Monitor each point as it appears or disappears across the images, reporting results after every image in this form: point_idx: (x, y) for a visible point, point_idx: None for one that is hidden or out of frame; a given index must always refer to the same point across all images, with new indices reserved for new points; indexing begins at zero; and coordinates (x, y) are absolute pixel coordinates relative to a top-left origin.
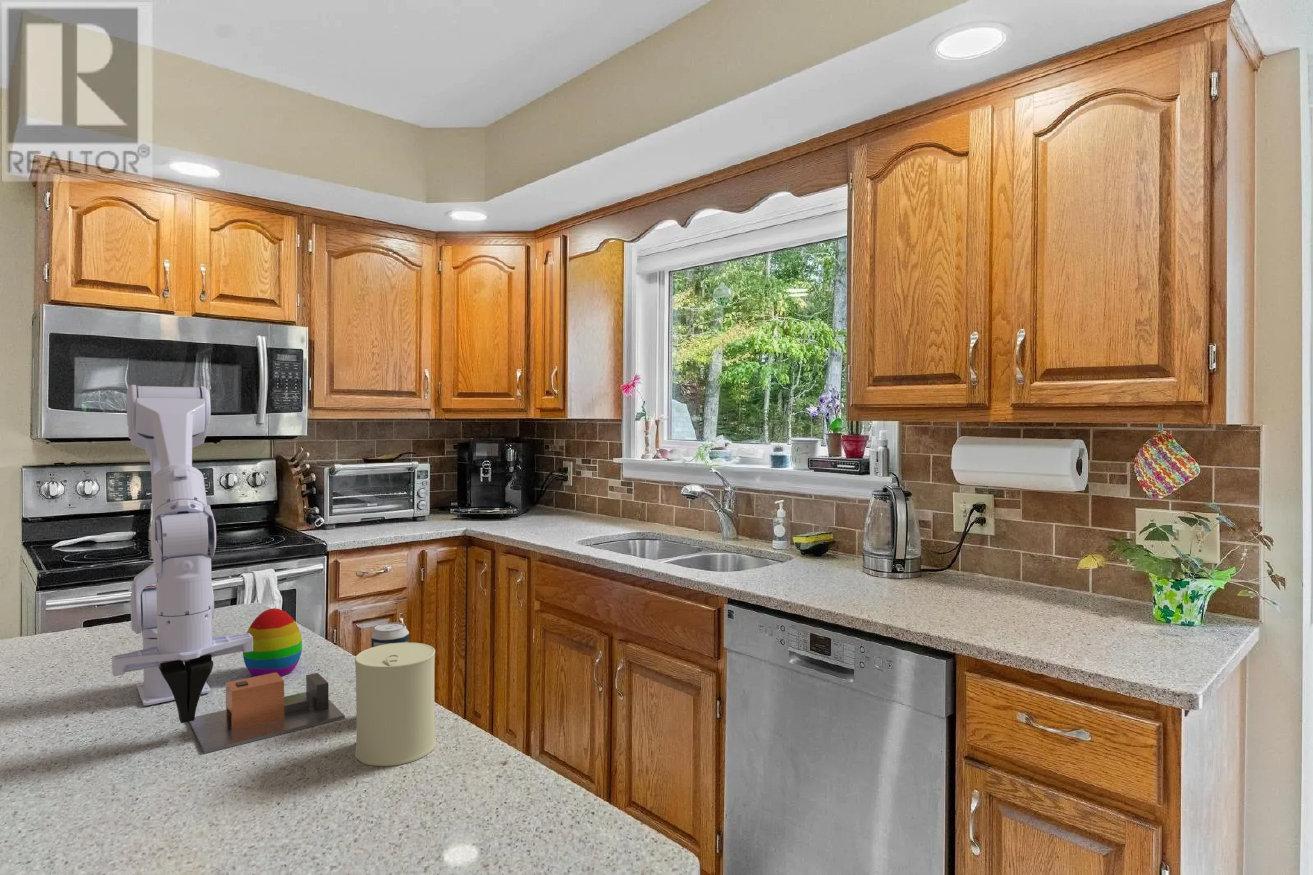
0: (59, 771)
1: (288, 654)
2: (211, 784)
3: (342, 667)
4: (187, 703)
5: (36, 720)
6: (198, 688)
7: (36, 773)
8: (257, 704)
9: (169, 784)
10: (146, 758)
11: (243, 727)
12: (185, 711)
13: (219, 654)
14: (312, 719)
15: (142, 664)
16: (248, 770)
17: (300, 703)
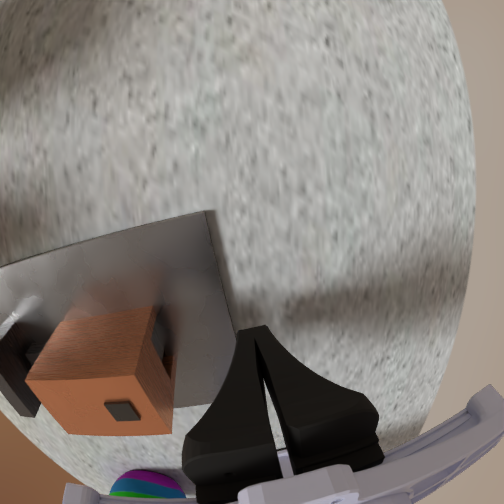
0: (435, 256)
1: (118, 493)
2: (184, 27)
3: (61, 456)
4: (260, 372)
5: (412, 418)
6: (233, 388)
7: (453, 263)
8: (89, 345)
9: (272, 69)
10: (323, 246)
11: (130, 310)
12: (262, 341)
13: (172, 502)
14: (10, 287)
15: (432, 445)
16: (107, 67)
17: (37, 351)
